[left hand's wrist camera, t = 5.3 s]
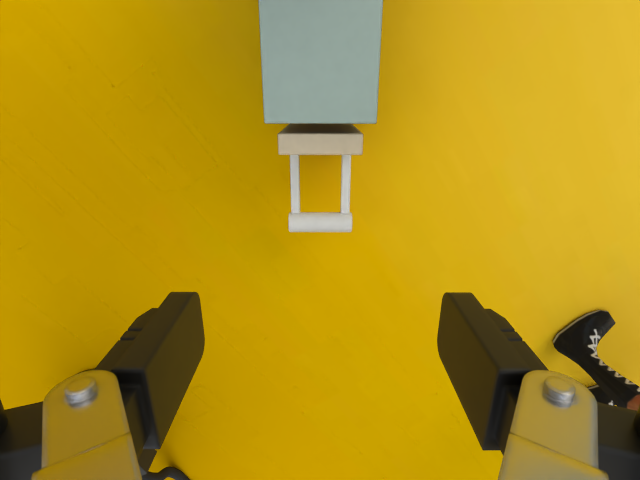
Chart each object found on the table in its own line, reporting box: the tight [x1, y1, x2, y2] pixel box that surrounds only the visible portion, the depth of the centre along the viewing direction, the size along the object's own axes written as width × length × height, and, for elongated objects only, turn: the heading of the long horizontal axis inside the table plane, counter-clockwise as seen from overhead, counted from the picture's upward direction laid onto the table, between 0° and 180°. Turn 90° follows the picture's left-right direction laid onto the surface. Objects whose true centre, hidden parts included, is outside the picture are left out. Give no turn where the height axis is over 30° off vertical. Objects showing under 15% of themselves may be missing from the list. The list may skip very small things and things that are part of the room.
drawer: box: [278, 123, 363, 232], centre depth 24 cm, size 23×5×9 cm, turn 0°
